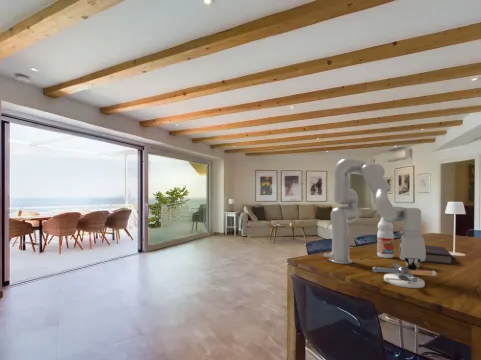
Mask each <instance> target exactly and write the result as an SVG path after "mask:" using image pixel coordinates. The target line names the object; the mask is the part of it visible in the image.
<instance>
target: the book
mask: <svg viewBox="0 0 481 360" xmlns="http://www.w3.org/2000/svg"><path fill="white" fill-rule="evenodd" d="M425 250H426V258H425V261H421V262H422V263H430V264H431V263H432V264H441V265H450V266H451V265H452V266H453V265H454V264H455V257H454V256H453V255H452V254H451V253H450V252H449V251H448V250H447V249H446V248H445V247H443V246H438V245H437V246H435V245H426V244H425Z"/></svg>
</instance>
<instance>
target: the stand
mask: <svg viewBox="0 0 481 360" xmlns="http://www.w3.org/2000/svg"><path fill="white" fill-rule="evenodd" d="M415 277H416V278H417V282H412V281H411V280H403V279H400V278H398V273H386V274H385V273H384V275H383V281H384V282H385V283H388V284H390V285H393V286H395V287H396V286H397V287H402V288H408V289H423V288H424V287H425V285H426V282H425V280H423V279H422V278H420V277H417V276H415Z"/></svg>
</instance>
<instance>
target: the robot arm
mask: <svg viewBox="0 0 481 360" xmlns="http://www.w3.org/2000/svg"><path fill="white" fill-rule="evenodd" d="M385 171H386V170H385V168H384V167H383V165H381V164H379V163H375V162H370V161H367V160H363V159H362V160H361V159H355V158H349V157H347V158H343V159H341V160H339V161H338V162H337V163H336V165H335V166H334V173H333V175H334V176H333V177H334V181H333V182H334V184H333V200H334V202H335V203H336V204H337V205H342V206H337V207H333V209H332V210H331V211H330V221H331V251H330V252H329V253H325V252H324V253H323V257H324V258H325V257H326V258H328V260H329V261H330V262H331V263H336V264H343V265H348V264H352V263H353V260H352V259H351V258H350V227H349V224H348V223H353V222H355V221H356V220H357V217H358V214H359V213H358V210H359V209H358V208H359V206H358V205H359V196H358V193H357V192H356V190H354V188H351V187H350V184H351V183H350V182H351V180H350V177H349V174H352V175H353V174H354V175H359V176H362V177H363V178H364V181H365V182H366V184H367V186H368V188H369V189H370V190H371V193H372V199H373V202H374V206H375V208H376V210H377V212H378V214H379V215H380V218H381V217H382V218H383V219H384V220H385V221H387V222H392V223H395V222H396V223H397V222H398V223H399V222H402V230H399V234H401V237H400V242H399V259H400V260H402V261H405V263H406V262H407V263H408V266H407V267H408V269H409V270H417V267H416V265H417V264H418V263H419V262H420V263H421V262H422V261H425V258H426V250H425V245H426V244H425V243H426V242H425V238H424V237H422V210H421V209H420V208H418V207H417V208H416V207H402V206H393V204H392V202H391V200H390V199H389V197H388V191H389V189H390V185H389V184H388V182H387V181H386V178H385V177H384V176H385V173H386V172H385ZM411 259H413V261H411Z"/></svg>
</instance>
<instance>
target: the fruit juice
mask: <svg viewBox="0 0 481 360" xmlns="http://www.w3.org/2000/svg"><path fill="white" fill-rule="evenodd" d="M377 229H378V230H377V234H376V236H377V237H376V242H377V243H376V244H377V245H376V255H377V257H379V258H385V259H392V258H394V255H395V250H394V249H395V247H394V246H395V242H394V241H395V234H394V231H393V230H394V224H393V222H387V221H385V220H384V219H383V218H382V217H381V216H380V220H379V222H378V223H377Z"/></svg>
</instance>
